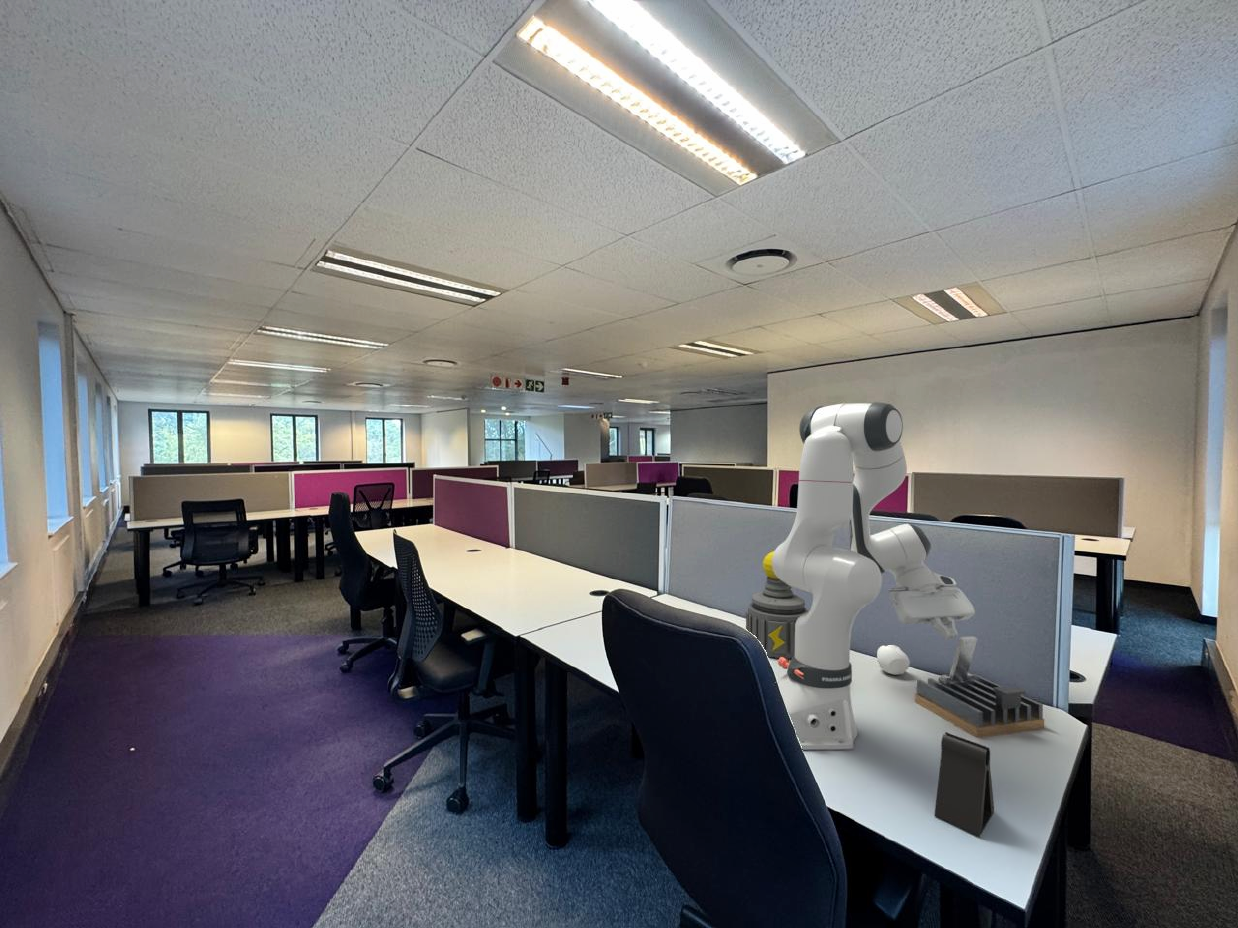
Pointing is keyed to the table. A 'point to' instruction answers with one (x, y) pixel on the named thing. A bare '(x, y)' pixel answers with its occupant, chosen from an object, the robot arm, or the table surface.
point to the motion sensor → (892, 659)
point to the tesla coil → (775, 614)
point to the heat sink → (980, 705)
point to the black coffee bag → (964, 785)
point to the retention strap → (962, 658)
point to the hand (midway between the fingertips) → (951, 637)
